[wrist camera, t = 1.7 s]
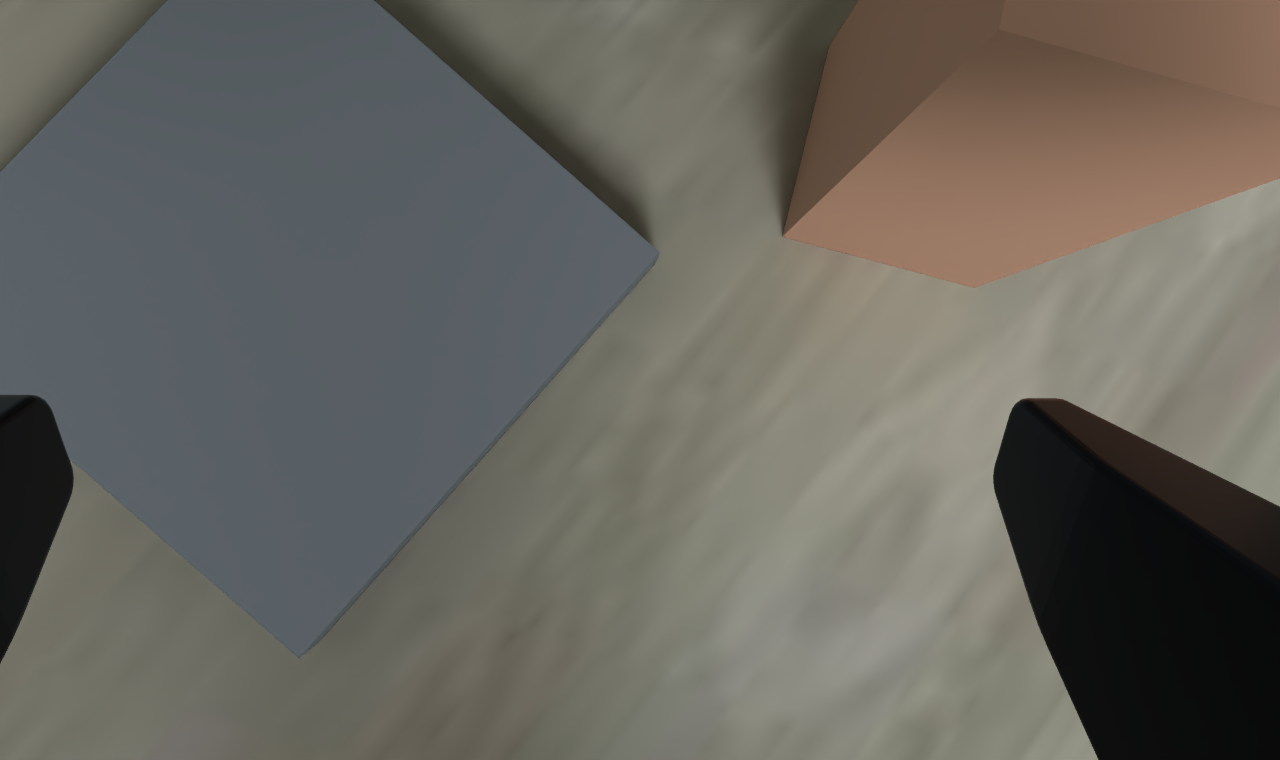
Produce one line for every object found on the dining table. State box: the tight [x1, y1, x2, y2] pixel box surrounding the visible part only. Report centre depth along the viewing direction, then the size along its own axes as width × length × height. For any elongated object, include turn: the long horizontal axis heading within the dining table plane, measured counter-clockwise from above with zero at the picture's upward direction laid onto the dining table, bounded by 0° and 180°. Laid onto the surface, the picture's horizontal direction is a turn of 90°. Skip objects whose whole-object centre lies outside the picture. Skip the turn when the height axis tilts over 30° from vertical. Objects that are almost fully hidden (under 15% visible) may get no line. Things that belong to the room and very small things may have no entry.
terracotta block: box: [782, 0, 1280, 288], centre depth 17 cm, size 5×5×12 cm
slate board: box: [0, 0, 660, 658], centre depth 21 cm, size 12×12×2 cm
